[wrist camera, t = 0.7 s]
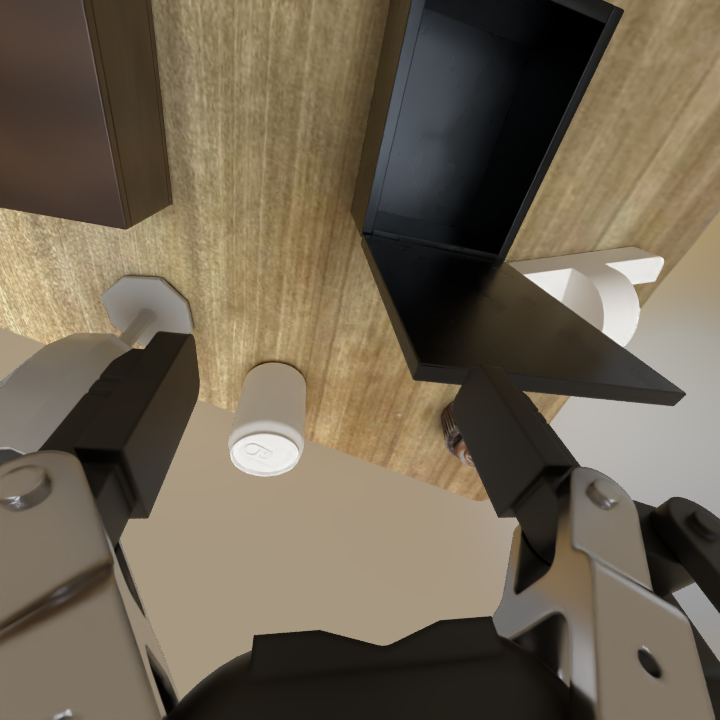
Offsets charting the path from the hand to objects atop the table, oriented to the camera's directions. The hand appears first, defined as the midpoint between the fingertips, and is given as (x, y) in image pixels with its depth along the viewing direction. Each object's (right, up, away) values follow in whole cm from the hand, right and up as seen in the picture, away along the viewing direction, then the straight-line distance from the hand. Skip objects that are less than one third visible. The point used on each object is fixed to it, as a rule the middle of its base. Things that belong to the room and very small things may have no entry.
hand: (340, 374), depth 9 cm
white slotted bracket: (+25, +9, +31) cm, 41 cm away
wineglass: (-22, +6, +26) cm, 35 cm away
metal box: (+7, +21, +19) cm, 29 cm away
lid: (+8, +4, +10) cm, 13 cm away
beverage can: (-11, -3, +34) cm, 36 cm away
